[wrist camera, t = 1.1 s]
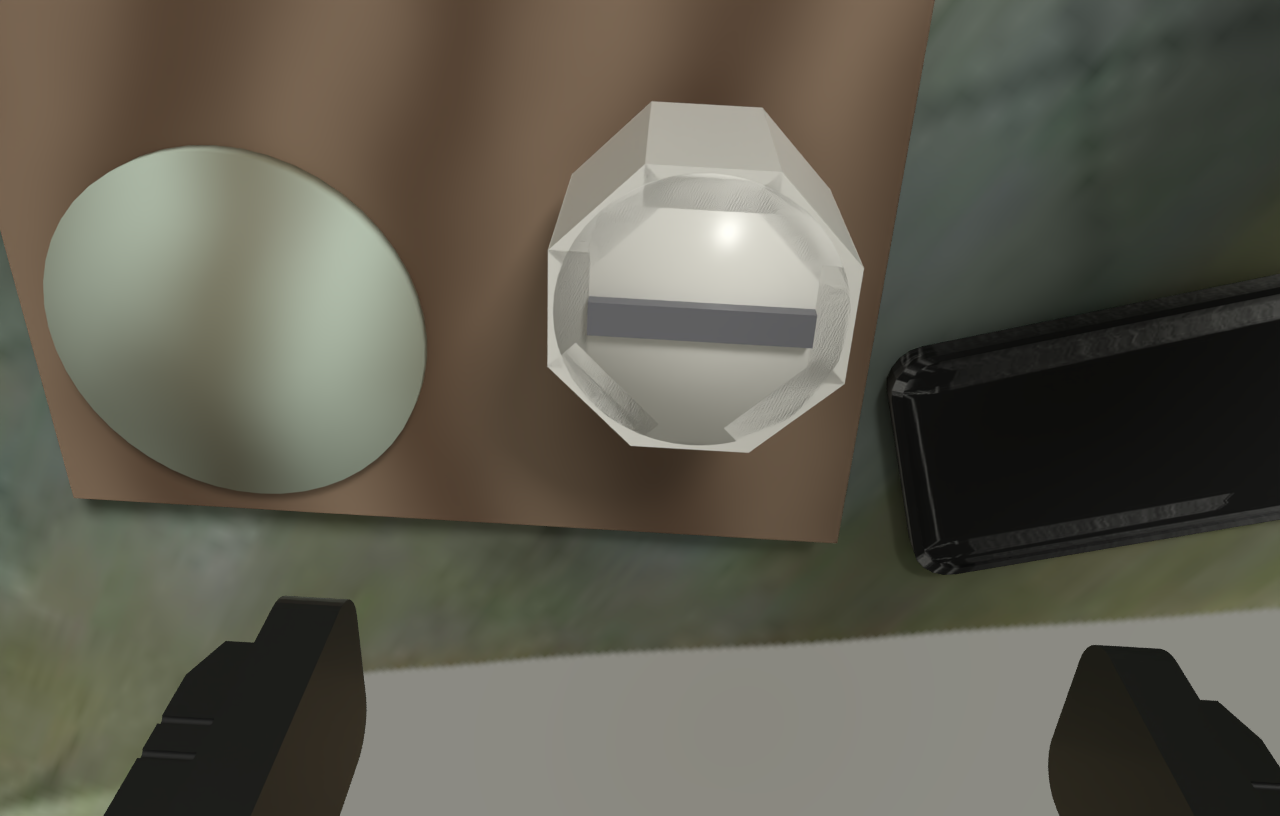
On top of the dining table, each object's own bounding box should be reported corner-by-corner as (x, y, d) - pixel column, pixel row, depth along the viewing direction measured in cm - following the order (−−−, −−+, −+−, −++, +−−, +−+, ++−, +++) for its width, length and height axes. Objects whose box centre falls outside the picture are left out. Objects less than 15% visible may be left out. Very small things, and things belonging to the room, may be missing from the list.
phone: (886, 366, 28) (1472, 249, 26) (879, 348, 29) (1443, 234, 27) (918, 583, 32) (1435, 497, 30) (911, 561, 33) (1410, 476, 31)
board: (926, -43, 24) (1012, -2, 18) (830, 514, 32) (866, 675, 26) (-47, -98, 24) (-296, -76, 18) (98, 470, 32) (-39, 621, 26)
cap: (840, 111, 23) (882, 182, 18) (806, 352, 26) (834, 465, 21) (573, 96, 23) (545, 162, 18) (569, 338, 26) (545, 448, 21)
